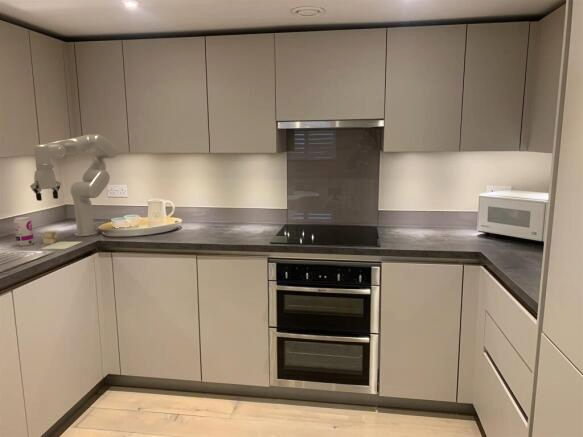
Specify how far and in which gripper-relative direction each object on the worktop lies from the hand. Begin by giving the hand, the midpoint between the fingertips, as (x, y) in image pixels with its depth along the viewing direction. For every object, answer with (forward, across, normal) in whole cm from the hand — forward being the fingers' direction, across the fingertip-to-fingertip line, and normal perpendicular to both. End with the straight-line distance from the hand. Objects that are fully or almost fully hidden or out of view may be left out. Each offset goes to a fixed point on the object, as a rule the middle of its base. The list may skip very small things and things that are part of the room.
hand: (47, 199), depth 243 cm
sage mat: (+25, +1, +9) cm, 26 cm away
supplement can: (+25, +7, -13) cm, 29 cm away
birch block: (+25, -1, -3) cm, 25 cm away
